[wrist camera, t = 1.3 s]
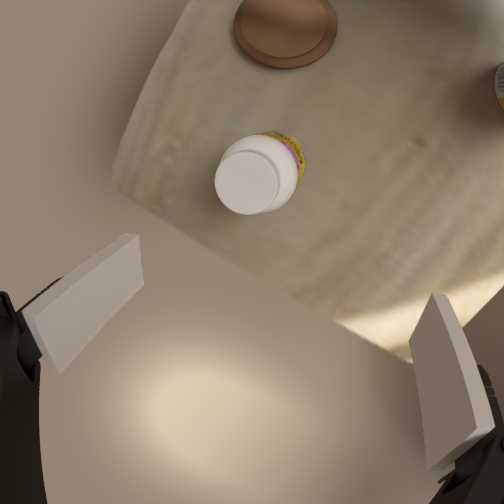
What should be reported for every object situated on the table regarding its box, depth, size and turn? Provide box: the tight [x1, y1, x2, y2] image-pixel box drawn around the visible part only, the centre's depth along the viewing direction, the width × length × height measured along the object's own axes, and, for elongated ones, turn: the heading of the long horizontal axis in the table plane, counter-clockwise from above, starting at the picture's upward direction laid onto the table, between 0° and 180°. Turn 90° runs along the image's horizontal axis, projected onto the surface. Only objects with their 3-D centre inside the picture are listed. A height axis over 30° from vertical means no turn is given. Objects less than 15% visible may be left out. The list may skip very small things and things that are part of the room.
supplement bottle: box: [215, 131, 306, 215], centre depth 26 cm, size 7×7×13 cm
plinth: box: [234, 0, 337, 69], centre depth 23 cm, size 11×11×2 cm
